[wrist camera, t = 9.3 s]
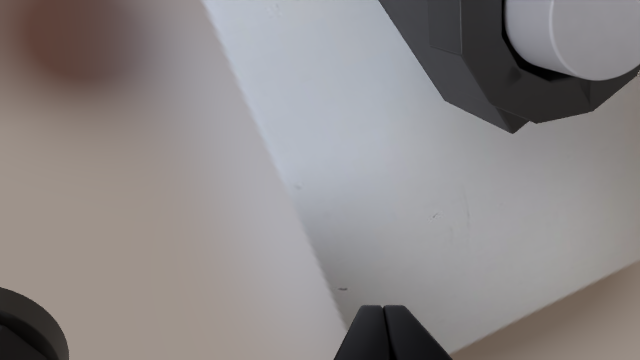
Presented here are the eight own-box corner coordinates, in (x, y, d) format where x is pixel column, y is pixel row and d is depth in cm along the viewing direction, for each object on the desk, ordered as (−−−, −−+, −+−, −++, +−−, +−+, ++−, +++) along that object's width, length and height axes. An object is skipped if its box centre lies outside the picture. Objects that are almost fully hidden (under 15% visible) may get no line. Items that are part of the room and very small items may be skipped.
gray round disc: (536, 93, 16) (585, 110, 14) (479, -11, 14) (525, -8, 12) (635, 12, 15) (698, 18, 14) (588, -102, 14) (652, -113, 12)
